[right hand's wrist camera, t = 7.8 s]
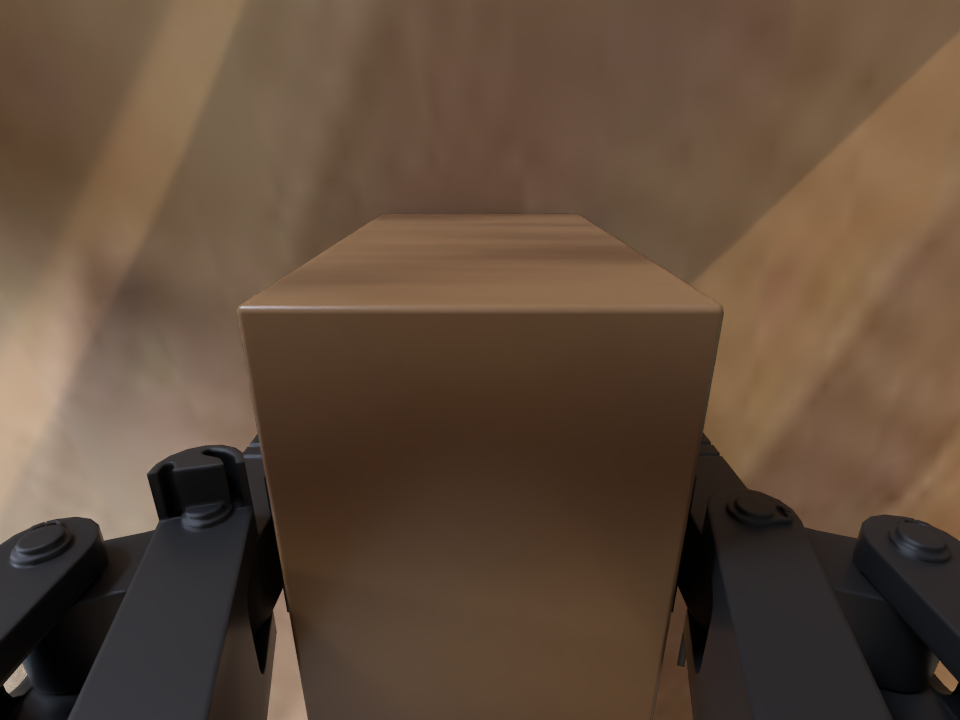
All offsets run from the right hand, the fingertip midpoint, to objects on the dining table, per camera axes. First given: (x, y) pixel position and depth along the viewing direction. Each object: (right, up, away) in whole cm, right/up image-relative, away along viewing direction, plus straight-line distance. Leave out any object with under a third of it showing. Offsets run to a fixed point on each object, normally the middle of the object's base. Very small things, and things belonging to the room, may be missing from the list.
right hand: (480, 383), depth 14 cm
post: (0, -30, +12) cm, 32 cm away
